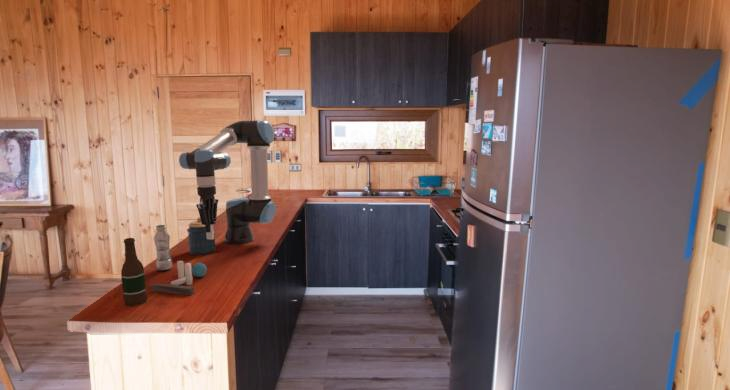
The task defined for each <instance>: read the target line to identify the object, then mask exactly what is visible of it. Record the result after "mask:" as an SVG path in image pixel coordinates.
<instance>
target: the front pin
mask: <svg viewBox="0 0 730 390" xmlns="http://www.w3.org/2000/svg"><path fill="white" fill-rule="evenodd" d="M193 278H194V277H193V276H192V281H193V280H194V279H193ZM183 284H186V277H183V278H180V279H178V278H177V279H175V280H172V281H170V285H177V286H182V285H183Z"/></svg>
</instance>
